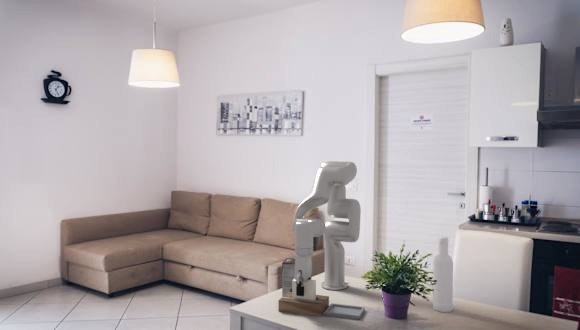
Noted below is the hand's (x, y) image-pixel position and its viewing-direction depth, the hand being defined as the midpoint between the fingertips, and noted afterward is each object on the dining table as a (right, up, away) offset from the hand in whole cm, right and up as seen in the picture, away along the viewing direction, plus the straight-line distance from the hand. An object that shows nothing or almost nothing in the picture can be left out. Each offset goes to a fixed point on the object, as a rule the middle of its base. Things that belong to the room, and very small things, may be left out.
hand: (303, 292), depth 198 cm
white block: (0, -7, 0) cm, 7 cm away
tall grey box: (-5, -7, +18) cm, 20 cm away
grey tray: (+16, -7, -4) cm, 18 cm away
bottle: (+57, -7, 0) cm, 58 cm away
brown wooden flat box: (0, -7, 0) cm, 7 cm away
